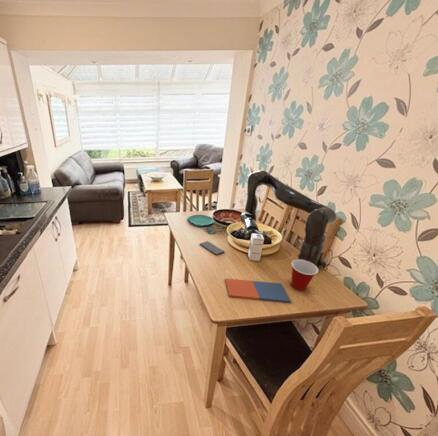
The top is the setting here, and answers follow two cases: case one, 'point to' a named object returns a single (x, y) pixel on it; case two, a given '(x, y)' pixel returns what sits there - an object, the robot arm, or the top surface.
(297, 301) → the top surface
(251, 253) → the syrup box
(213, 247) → the smartphone
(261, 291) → the mat
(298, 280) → the plastic cup
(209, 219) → the teal oval plate
